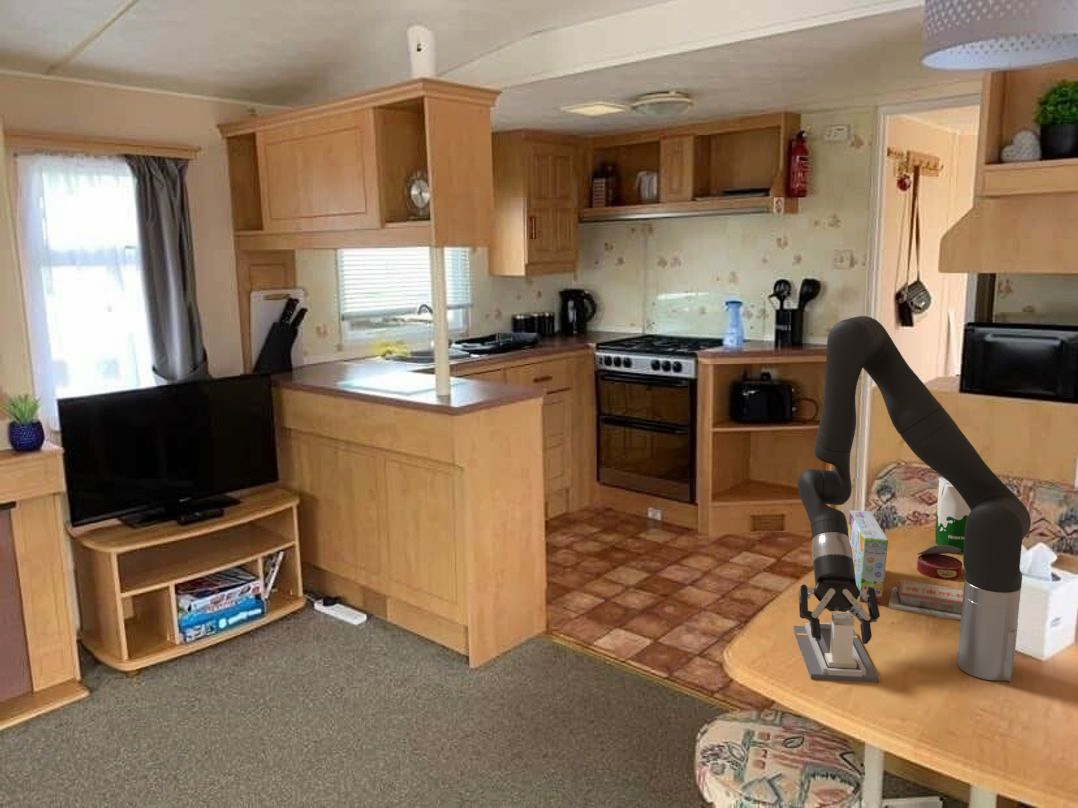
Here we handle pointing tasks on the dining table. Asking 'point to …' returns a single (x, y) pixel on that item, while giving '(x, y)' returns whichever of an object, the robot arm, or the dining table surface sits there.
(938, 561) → the canned food
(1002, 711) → the dining table surface
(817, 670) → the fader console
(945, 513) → the milk carton
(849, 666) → the fader tab
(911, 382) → the robot arm
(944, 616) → the packaged product
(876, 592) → the snack box
